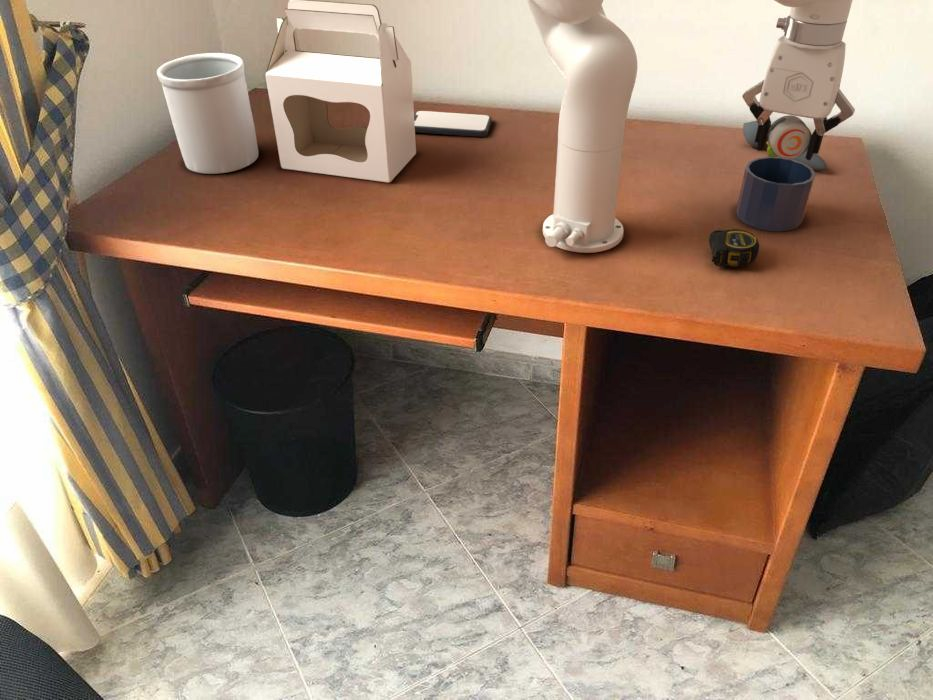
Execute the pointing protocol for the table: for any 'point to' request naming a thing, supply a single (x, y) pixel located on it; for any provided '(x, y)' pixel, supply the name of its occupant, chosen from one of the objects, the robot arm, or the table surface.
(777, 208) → the cup
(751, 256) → the tape measure
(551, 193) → the table surface
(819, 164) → the paintbrush
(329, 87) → the gable box
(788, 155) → the roller toy
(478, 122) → the phone case
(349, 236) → the table surface
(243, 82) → the utensil holder
